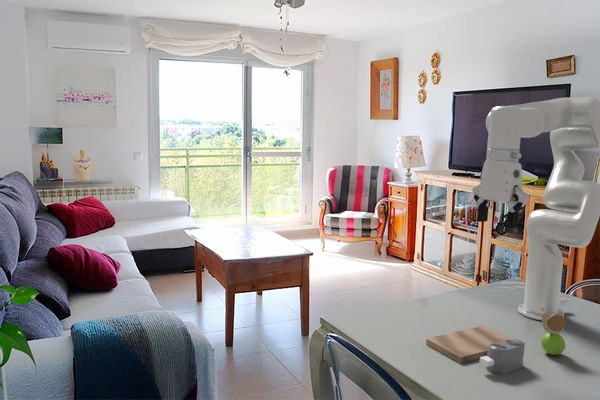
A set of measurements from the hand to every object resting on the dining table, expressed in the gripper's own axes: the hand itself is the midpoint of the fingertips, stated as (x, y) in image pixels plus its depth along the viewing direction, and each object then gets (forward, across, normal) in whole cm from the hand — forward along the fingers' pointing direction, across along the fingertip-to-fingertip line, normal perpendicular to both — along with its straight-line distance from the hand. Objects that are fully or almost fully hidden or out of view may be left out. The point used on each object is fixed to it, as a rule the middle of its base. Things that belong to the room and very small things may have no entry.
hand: (496, 224), depth 132 cm
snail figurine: (+31, -12, -10) cm, 34 cm away
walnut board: (+31, 0, +5) cm, 32 cm away
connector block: (+32, -12, +6) cm, 34 cm away
